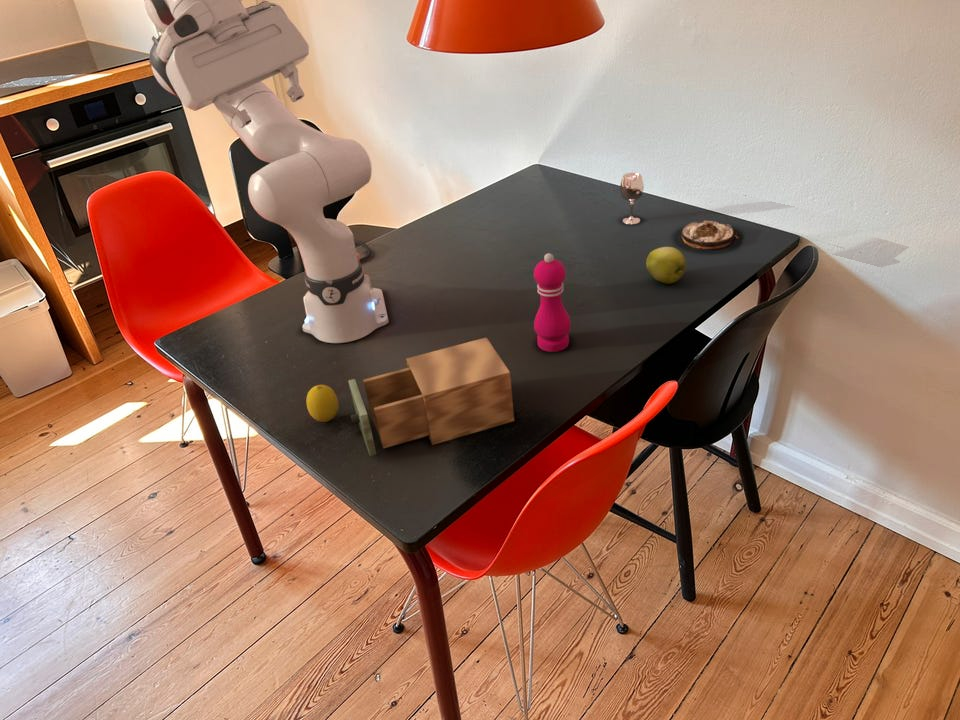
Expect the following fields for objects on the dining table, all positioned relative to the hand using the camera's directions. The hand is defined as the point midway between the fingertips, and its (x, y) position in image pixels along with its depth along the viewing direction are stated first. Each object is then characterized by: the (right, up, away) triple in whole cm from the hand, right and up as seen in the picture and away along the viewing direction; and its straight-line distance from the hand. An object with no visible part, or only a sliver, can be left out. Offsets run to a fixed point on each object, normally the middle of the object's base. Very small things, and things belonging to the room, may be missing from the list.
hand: (273, 111), depth 108 cm
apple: (+70, -18, +62) cm, 96 cm away
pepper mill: (+44, -32, +46) cm, 71 cm away
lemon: (+1, -46, +32) cm, 56 cm away
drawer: (+15, -47, +27) cm, 56 cm away
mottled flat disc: (+84, -6, +77) cm, 115 cm away
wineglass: (+68, +1, +89) cm, 112 cm away
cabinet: (+26, -44, +30) cm, 60 cm away
